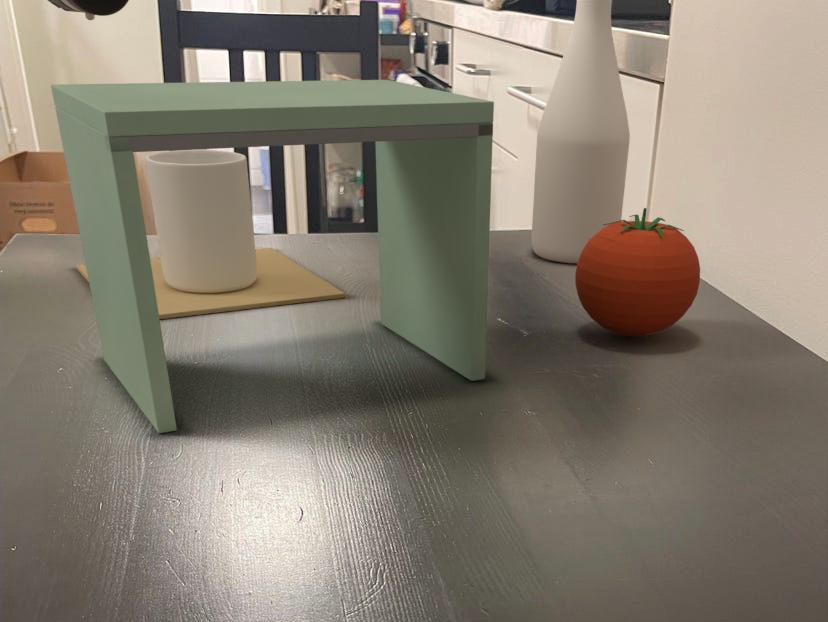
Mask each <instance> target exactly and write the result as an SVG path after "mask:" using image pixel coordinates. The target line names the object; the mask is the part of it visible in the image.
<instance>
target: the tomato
mask: <svg viewBox="0 0 828 622" xmlns="http://www.w3.org/2000/svg"><path fill="white" fill-rule="evenodd" d="M632 217H634V220H626V219H621V220H620V221H616V222H612V223H608V224H610V225H608V226H606V227H604V228H603V229H601V230H600V231H599V232H597V233H596V234H595V235H594V236H593V237H592V238H590V239H589V241H588V242H587V244H586V245H585V247H584V248H583V250H582V252H581V255H580V257H579V260H578V262H577V263H576V267H575V273H574V274H575V275H574V276H575V277H574V278H575V279H574V283H575V289H576V293H577V297H578V300H579V302H580V304H581V306H582V309H583V310H584V311H585V312H586V313H587V314H588V316H589V318H591V320H592V321H594V322H595V323H597V324H598V325H599V326H600V327H602V328H603V329H605V330H606V331H609V332H611V333H614V334H617V335H619V336H626V337H645V336H649V335H652V334H656V333H660V332H663V331H664V330H666V329H668V328H670V327H672V326H673V325H675V324H676V323H677V322H678V321H679V320H681V319H682V318H683V317H684V315H685V314H686V313H687V311H689V309H690V308H691V307H692V306H693V304H694V301H695V299H696V297H697V294H698V291H699V287H700V281H701V265H700V259H699V255H698V254H697V250H696V249H695V246H694V245H693V244H692V242H691V241H690V239H688V237H687V236H686V235H685V234H683V233H682V232H684V231H685V230H684V229H681V228H679V227H676V226H674V225H671V224H667V223H666V224H665V223H661V221H663V222H666V220H665V219H664V218H662V217H656V218H655V219H654V220H652V221H646V218H647V207H644V208H643V209H642V215H641V220H640V215H639V214H632V215H629V218H632ZM603 225H607V224H603ZM681 231H682V232H681Z"/></svg>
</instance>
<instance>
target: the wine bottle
mask: <svg viewBox="0 0 828 622" xmlns="http://www.w3.org/2000/svg"><path fill="white" fill-rule="evenodd" d="M612 3H613V0H576V5H575V15H574V19H573V24H572V27H571V32H570V35H569V38H568V41H567V44H566V47H565V50H564V52H563V56H562V58H561V61H560V65H559V67H558V70H557V73H556V75H555V79H554V81H553V84H552V88H551V90H550V93H549V96H548V99H547V101H546V104H545V107H544V110H543V113H542V115H541V119H540V123H539V126H538V129H537V134H536V149H535V150H536V151H535V167H534V168H535V169H534V170H535V171H534V185H533V186H534V187H533V188H534V189H533V203H532V204H533V205H532V220H531V221H532V222H531V239H530V242H531V248H532V251H533V252H534V254H536V256H538V257H540V258H542V259H545V260H548V261H551V262H558V263H565V264H577V262H578V260H579V257H580V255H581V252H582V250H583V248H584V247H585V245H586V244H587V242H588V241H589V239H590V238H592V237H593V236H594V235H595V234H596V233H597V232H599V231H600V230H601V229H603V228H604V227H606V226H608V225H610V224H608V223H612V222H616V221H620V220H622V217H623V207H624V197H625V187H626V178H627V171H628V169H627V168H628V159H629V150H630V141H631V139H630V138H631V136H630V134H631V133H630V127H629V120H628V119H629V118H628V113H627V108H626V103H625V98H624V92H623V87H622V82H621V77H620V71H619V66H618V59H617V54H616V49H615V43H614V38H613V30H612V27H613V26H612V5H613V4H612ZM603 224H607V225H603Z"/></svg>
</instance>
